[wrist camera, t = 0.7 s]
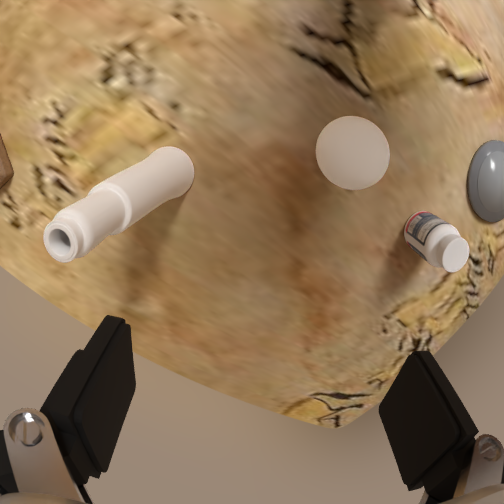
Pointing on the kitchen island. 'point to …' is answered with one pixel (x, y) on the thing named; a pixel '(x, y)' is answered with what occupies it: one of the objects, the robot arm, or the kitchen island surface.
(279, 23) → the kitchen island surface
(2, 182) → the candle holder
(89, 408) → the robot arm
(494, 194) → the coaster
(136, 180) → the cosmetic bottle
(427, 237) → the pill bottle
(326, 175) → the light bulb
